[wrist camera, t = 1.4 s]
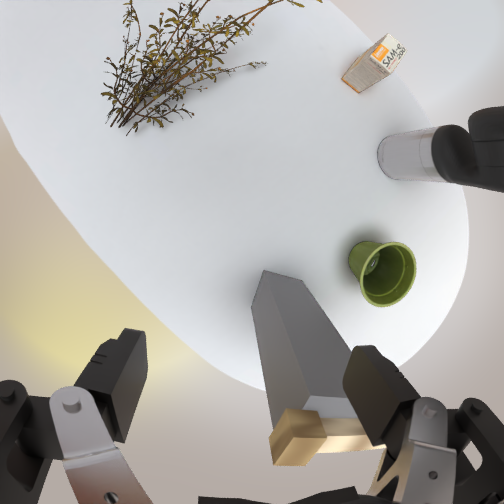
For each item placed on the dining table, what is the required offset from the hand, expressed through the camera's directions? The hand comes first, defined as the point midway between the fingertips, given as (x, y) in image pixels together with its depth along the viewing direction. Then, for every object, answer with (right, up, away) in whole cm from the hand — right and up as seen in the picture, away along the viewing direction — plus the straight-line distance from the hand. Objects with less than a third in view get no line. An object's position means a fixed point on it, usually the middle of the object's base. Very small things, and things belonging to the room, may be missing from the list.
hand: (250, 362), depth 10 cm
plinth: (+5, -4, +45) cm, 45 cm away
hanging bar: (+11, -13, +13) cm, 21 cm away
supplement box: (+22, +40, +35) cm, 58 cm away
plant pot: (+23, +3, +45) cm, 50 cm away
